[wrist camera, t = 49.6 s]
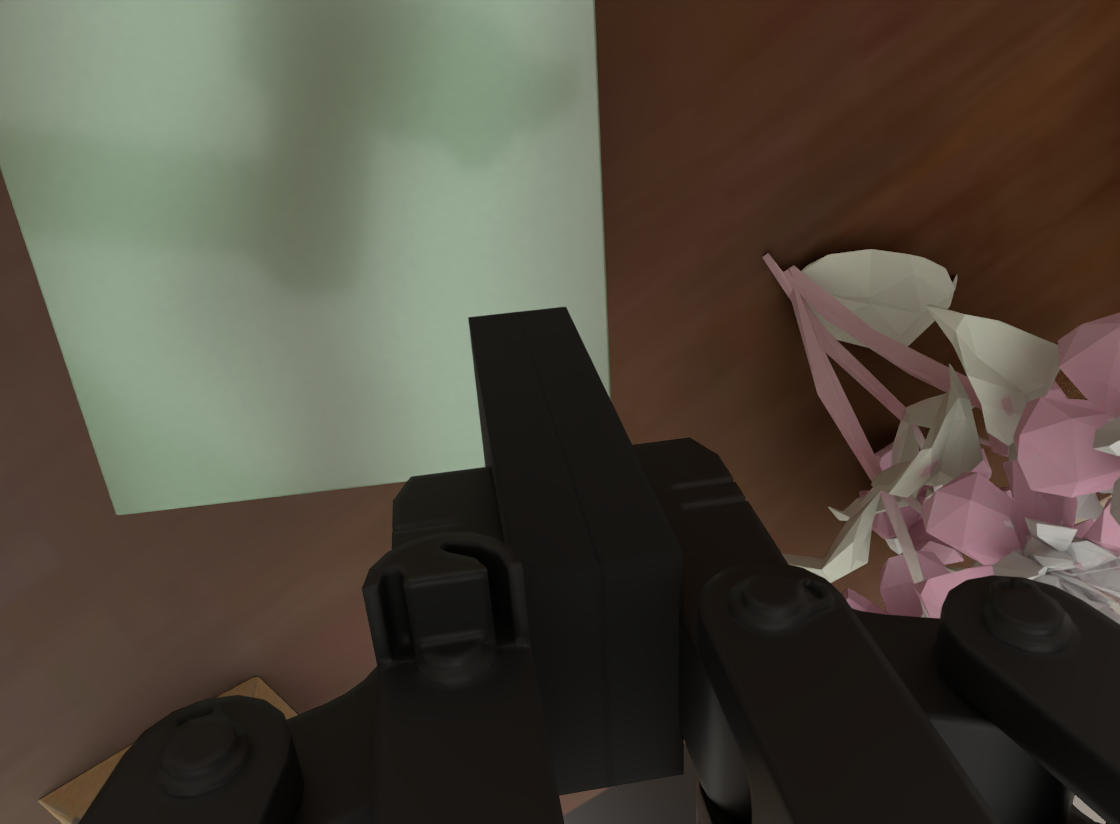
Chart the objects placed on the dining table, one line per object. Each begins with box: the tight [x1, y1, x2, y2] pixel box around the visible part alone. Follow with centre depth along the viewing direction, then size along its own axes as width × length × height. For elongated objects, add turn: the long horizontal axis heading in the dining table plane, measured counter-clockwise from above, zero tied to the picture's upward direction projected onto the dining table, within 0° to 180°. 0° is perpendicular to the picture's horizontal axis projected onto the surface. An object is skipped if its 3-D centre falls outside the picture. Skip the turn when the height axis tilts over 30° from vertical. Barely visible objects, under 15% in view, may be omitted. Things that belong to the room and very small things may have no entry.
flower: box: [762, 249, 1120, 624], centre depth 39 cm, size 20×22×25 cm
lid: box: [0, 0, 611, 515], centre depth 25 cm, size 16×17×1 cm
